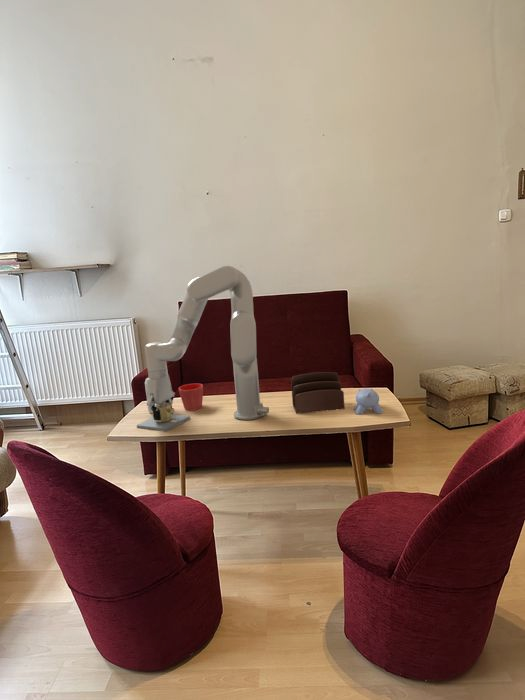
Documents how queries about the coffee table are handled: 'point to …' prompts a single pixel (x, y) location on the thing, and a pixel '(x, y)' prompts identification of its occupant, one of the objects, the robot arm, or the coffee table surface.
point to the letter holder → (316, 392)
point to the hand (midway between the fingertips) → (163, 416)
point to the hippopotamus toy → (367, 401)
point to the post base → (163, 425)
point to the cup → (165, 412)
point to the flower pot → (191, 396)
